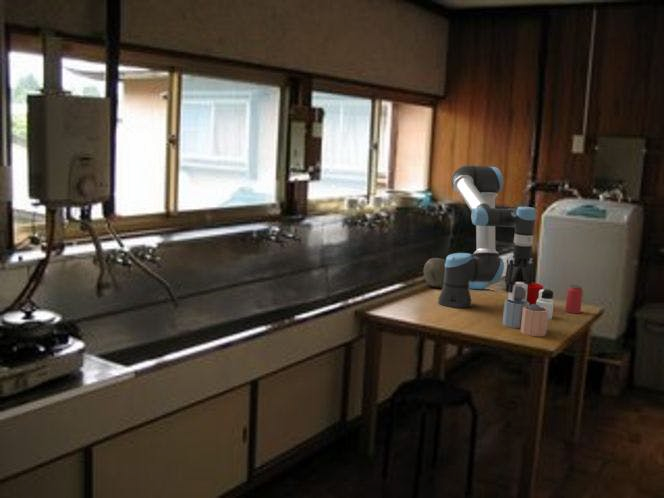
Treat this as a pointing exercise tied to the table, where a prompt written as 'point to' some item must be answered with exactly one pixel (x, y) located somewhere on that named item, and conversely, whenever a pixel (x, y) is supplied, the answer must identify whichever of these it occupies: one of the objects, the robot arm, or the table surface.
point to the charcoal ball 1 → (519, 293)
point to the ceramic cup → (533, 292)
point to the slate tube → (513, 313)
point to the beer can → (574, 299)
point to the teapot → (478, 285)
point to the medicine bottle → (546, 301)
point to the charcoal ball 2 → (534, 307)
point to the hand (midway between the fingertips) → (517, 299)
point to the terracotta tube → (534, 322)
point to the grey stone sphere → (435, 272)
